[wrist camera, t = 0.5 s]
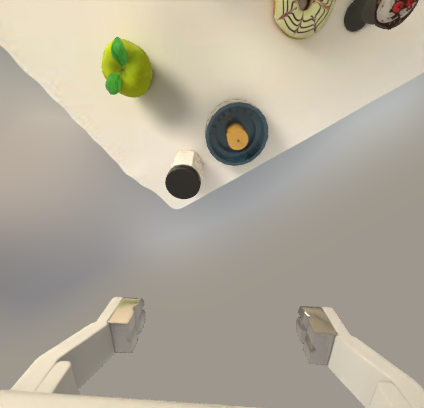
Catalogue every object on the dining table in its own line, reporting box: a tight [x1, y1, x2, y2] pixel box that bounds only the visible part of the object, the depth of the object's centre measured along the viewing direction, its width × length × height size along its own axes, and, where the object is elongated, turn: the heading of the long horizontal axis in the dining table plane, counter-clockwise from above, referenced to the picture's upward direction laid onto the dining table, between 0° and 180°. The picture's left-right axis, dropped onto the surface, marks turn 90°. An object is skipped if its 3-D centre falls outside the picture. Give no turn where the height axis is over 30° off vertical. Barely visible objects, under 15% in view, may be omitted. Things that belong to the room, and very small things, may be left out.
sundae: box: [344, 0, 418, 31], centre depth 33 cm, size 7×7×15 cm
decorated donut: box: [274, 0, 336, 39], centre depth 37 cm, size 10×11×4 cm
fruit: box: [102, 37, 153, 97], centre depth 40 cm, size 9×9×10 cm
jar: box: [165, 151, 203, 199], centre depth 52 cm, size 9×8×12 cm
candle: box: [226, 122, 248, 150], centre depth 48 cm, size 5×5×8 cm
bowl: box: [205, 99, 268, 166], centre depth 50 cm, size 15×15×5 cm
